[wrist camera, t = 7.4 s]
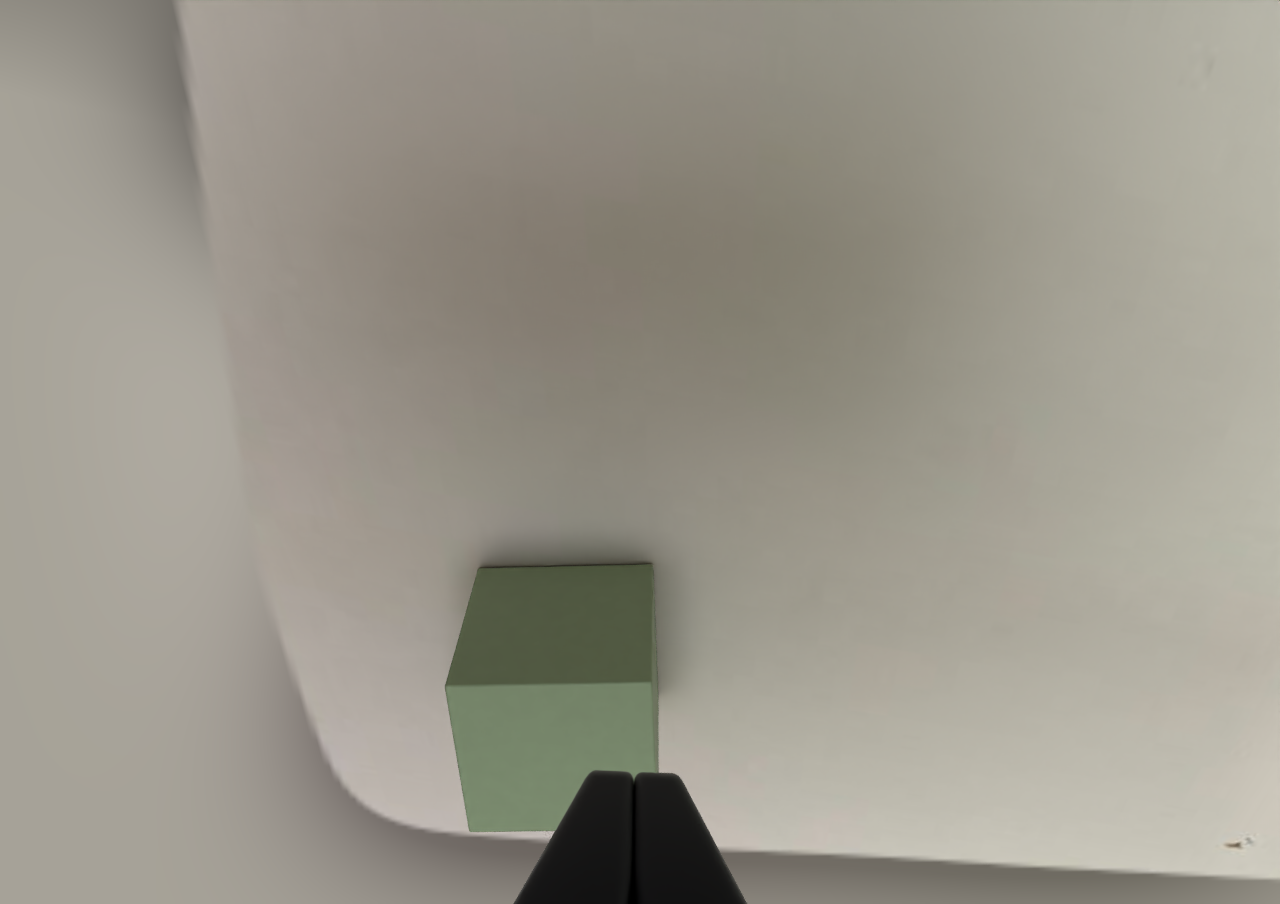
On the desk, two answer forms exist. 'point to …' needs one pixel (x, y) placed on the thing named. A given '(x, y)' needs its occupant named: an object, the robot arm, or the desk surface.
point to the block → (551, 688)
